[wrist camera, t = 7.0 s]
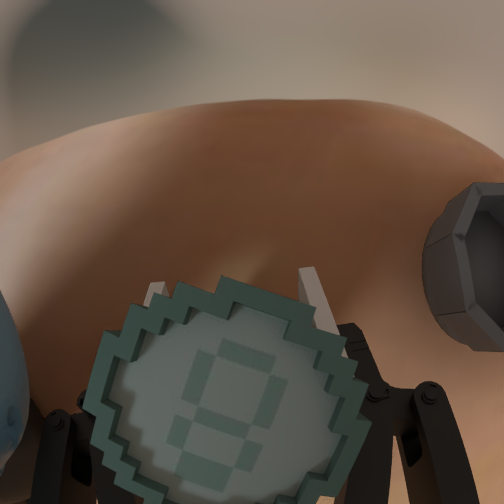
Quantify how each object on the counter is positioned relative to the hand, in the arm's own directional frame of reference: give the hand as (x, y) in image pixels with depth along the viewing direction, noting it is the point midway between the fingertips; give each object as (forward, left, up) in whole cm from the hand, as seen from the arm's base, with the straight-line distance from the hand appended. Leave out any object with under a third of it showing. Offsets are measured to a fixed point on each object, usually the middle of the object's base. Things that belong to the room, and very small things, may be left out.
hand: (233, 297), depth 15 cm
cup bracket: (+20, 0, -7) cm, 21 cm away
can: (0, -4, -6) cm, 7 cm away
